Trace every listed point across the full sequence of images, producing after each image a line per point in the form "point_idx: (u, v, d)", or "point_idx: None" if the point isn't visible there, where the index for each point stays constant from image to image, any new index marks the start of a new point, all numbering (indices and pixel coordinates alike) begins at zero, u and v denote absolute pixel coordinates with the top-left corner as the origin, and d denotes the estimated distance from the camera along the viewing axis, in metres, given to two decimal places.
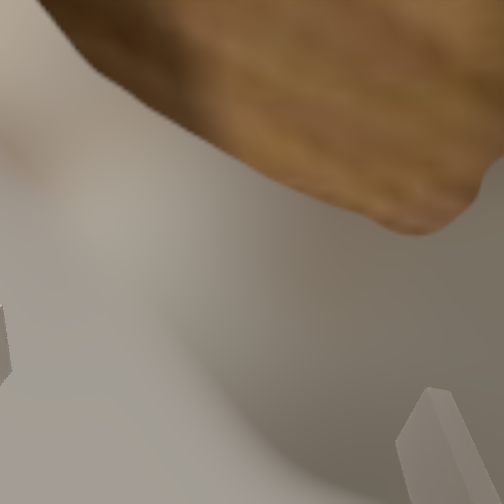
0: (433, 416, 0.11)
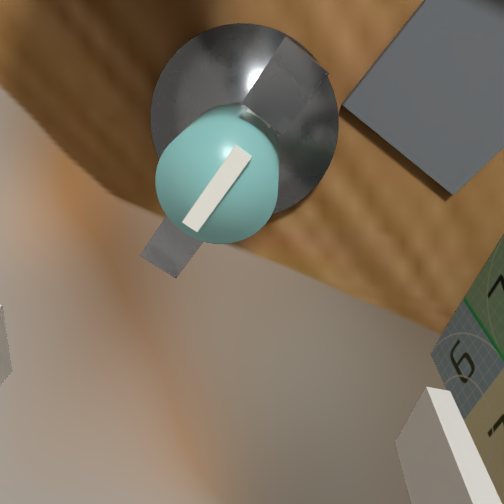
0: (433, 416, 0.11)
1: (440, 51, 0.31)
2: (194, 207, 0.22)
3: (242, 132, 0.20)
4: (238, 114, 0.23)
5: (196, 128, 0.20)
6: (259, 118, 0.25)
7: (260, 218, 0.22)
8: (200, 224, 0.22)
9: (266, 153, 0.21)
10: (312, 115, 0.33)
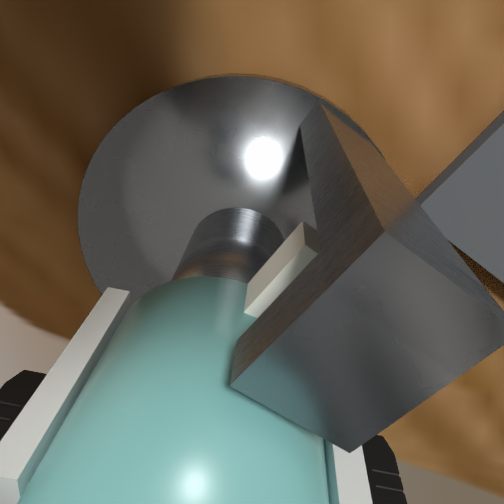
0: None
1: None
2: None
3: None
4: (224, 356, 0.09)
5: None
6: None
7: None
8: None
9: None
10: None
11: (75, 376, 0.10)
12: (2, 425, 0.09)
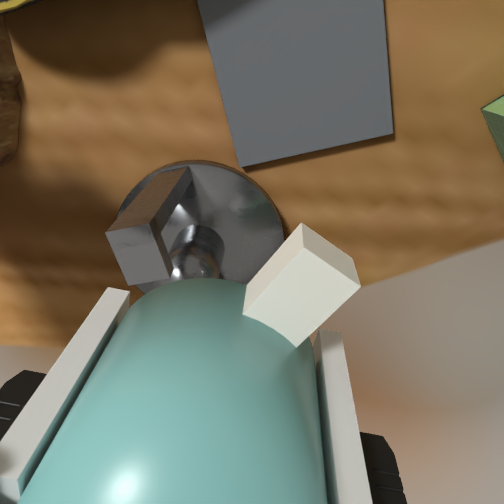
0: (319, 351, 0.13)
1: (258, 67, 0.31)
2: None
3: None
4: (222, 358, 0.09)
5: None
6: (274, 330, 0.11)
7: None
8: None
9: None
10: (227, 195, 0.35)
11: (75, 376, 0.10)
12: (2, 425, 0.09)
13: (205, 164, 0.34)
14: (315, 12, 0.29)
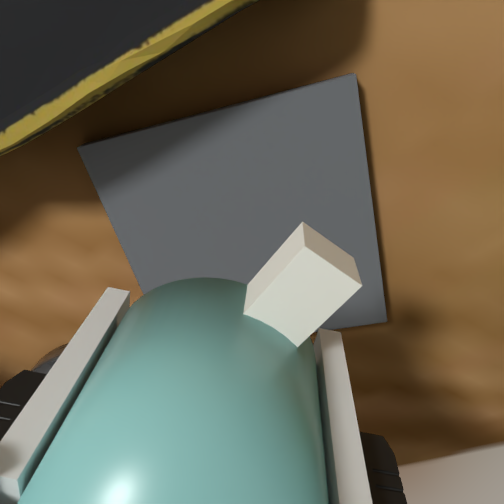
0: (319, 351, 0.13)
1: (182, 239, 0.21)
2: None
3: None
4: (223, 358, 0.09)
5: None
6: (275, 329, 0.11)
7: None
8: None
9: None
10: None
11: (75, 376, 0.10)
12: (2, 425, 0.09)
13: None
14: (260, 171, 0.19)
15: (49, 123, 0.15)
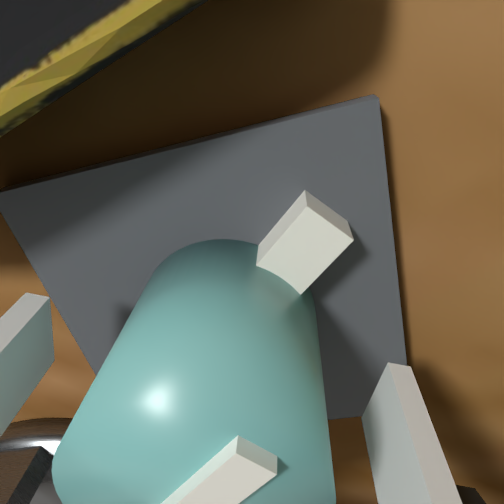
0: (392, 389, 0.12)
1: None
2: None
3: (255, 411, 0.08)
4: (242, 294, 0.11)
5: (138, 402, 0.08)
6: (282, 279, 0.13)
7: None
8: None
9: (313, 449, 0.08)
10: None
11: None
12: None
13: None
14: (244, 227, 0.14)
15: None
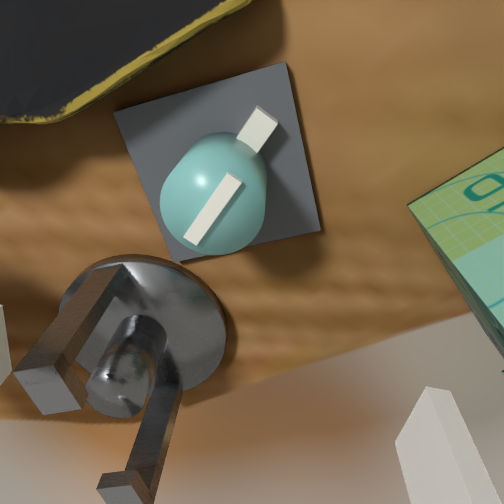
0: (434, 416, 0.11)
1: None
2: (193, 224, 0.25)
3: (233, 161, 0.24)
4: (229, 143, 0.27)
5: (194, 158, 0.24)
6: (248, 144, 0.29)
7: (250, 232, 0.26)
8: (198, 238, 0.26)
9: (254, 178, 0.24)
10: (163, 289, 0.36)
11: None
12: None
13: (139, 261, 0.35)
14: (231, 125, 0.30)
15: (98, 96, 0.26)
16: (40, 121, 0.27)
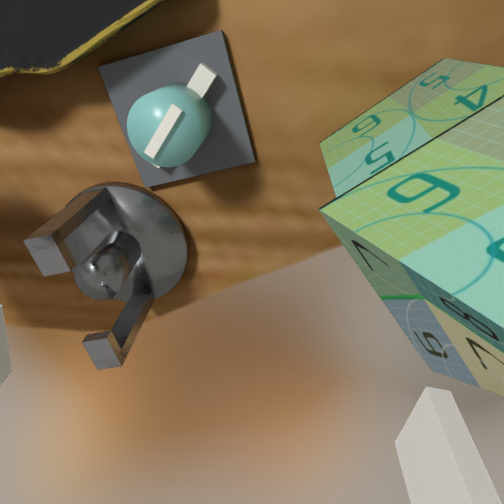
0: (433, 416, 0.11)
1: None
2: (150, 142, 0.36)
3: (176, 95, 0.35)
4: (179, 87, 0.38)
5: (149, 93, 0.35)
6: (195, 91, 0.39)
7: (191, 149, 0.37)
8: (154, 153, 0.37)
9: (191, 108, 0.35)
10: (137, 208, 0.47)
11: None
12: None
13: (119, 186, 0.46)
14: (184, 77, 0.40)
15: (84, 53, 0.37)
16: (43, 71, 0.38)
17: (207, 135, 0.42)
